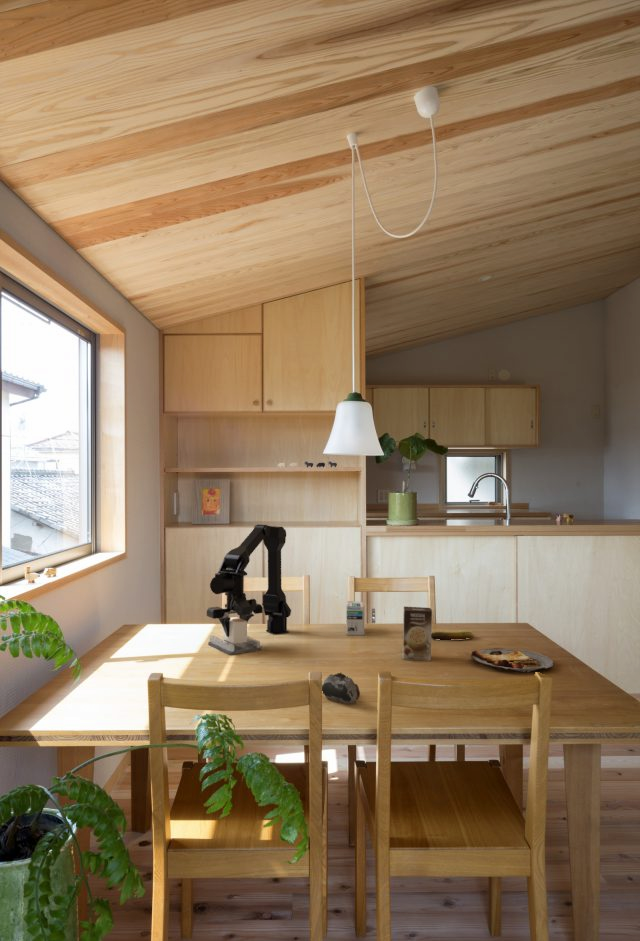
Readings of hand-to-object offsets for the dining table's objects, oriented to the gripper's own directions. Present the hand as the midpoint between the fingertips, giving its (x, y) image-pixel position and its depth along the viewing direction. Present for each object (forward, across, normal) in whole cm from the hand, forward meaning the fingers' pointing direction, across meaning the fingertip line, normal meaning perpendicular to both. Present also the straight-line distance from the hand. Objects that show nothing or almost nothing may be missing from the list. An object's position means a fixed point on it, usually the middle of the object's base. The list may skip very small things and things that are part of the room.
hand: (234, 635), depth 239 cm
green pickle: (+5, +74, -30) cm, 80 cm away
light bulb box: (+4, +49, -3) cm, 49 cm away
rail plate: (+4, 0, 0) cm, 4 cm away
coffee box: (+4, +44, -43) cm, 62 cm away
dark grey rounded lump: (+4, 0, -64) cm, 64 cm away
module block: (+2, 0, 0) cm, 2 cm away
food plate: (+4, +65, -64) cm, 91 cm away
